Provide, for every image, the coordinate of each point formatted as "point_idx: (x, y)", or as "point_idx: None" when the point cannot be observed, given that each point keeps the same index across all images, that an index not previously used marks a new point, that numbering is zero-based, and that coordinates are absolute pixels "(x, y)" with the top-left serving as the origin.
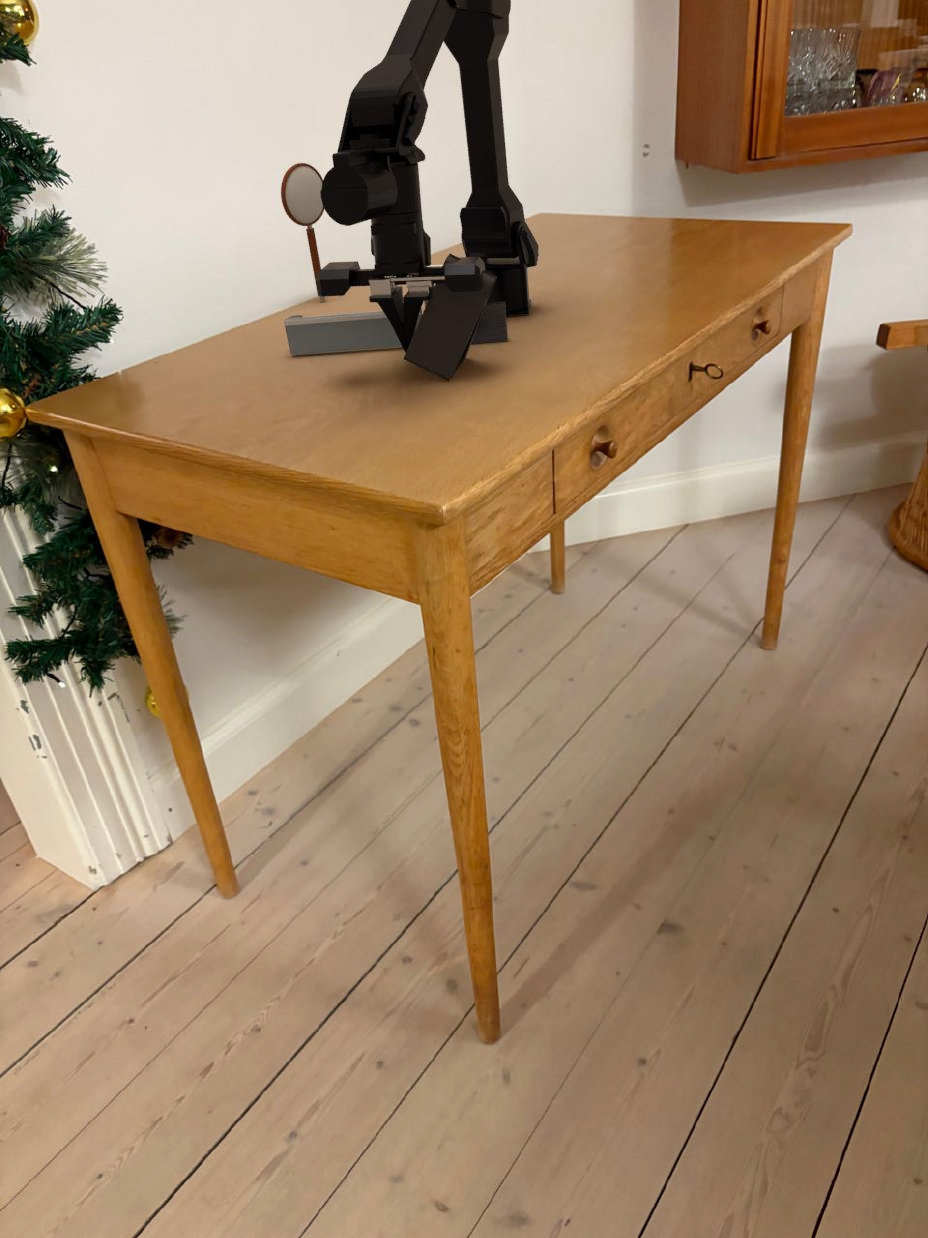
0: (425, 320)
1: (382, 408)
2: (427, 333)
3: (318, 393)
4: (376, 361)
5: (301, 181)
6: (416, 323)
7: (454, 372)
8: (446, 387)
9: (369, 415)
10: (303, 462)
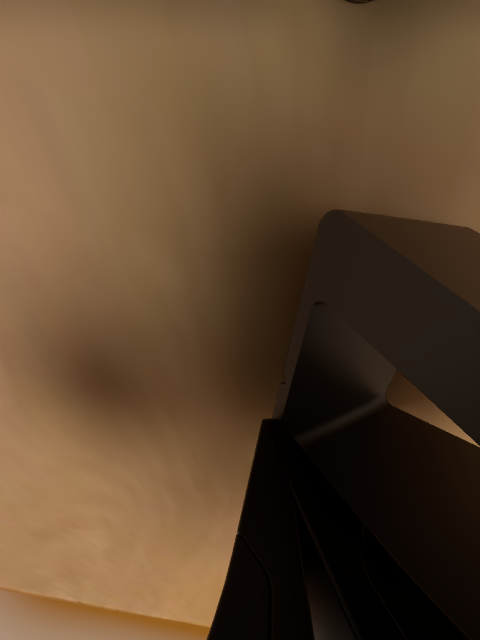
0: None
1: (225, 513)
2: None
3: (35, 440)
4: (80, 182)
5: None
6: (356, 515)
7: (387, 402)
8: None
9: (208, 530)
10: (162, 609)
